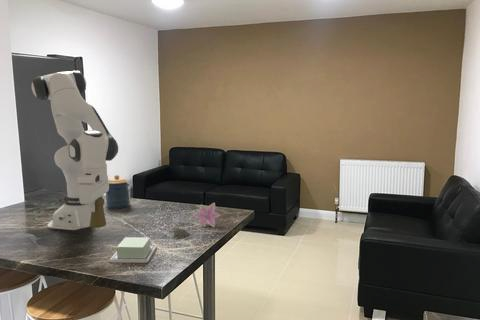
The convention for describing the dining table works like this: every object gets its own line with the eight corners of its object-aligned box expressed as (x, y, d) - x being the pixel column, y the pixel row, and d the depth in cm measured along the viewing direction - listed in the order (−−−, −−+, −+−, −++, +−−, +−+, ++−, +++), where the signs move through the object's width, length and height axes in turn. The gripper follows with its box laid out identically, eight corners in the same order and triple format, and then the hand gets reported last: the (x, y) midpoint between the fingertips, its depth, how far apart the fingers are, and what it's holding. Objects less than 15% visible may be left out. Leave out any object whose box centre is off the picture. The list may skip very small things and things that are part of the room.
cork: (91, 222, 153) (90, 195, 151) (107, 222, 154) (106, 195, 152) (88, 227, 147) (86, 199, 145) (104, 227, 148) (103, 199, 146)
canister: (126, 209, 212) (124, 177, 209) (102, 209, 212) (100, 177, 209) (133, 202, 224) (131, 172, 222) (110, 202, 225) (109, 172, 222)
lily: (189, 226, 187) (190, 212, 181) (203, 211, 196) (204, 197, 190) (211, 236, 184) (211, 223, 178) (223, 221, 192) (225, 207, 186)
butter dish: (110, 262, 145) (109, 249, 144) (122, 247, 158) (121, 235, 158) (147, 262, 144) (147, 249, 143) (156, 247, 158) (156, 235, 157)
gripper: (96, 168, 157) (98, 201, 159) (74, 179, 137) (76, 217, 139) (112, 168, 157) (113, 201, 159) (92, 180, 137) (93, 217, 139)
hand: (95, 209), depth 149 cm, fingers closed on cork, 4 cm apart
